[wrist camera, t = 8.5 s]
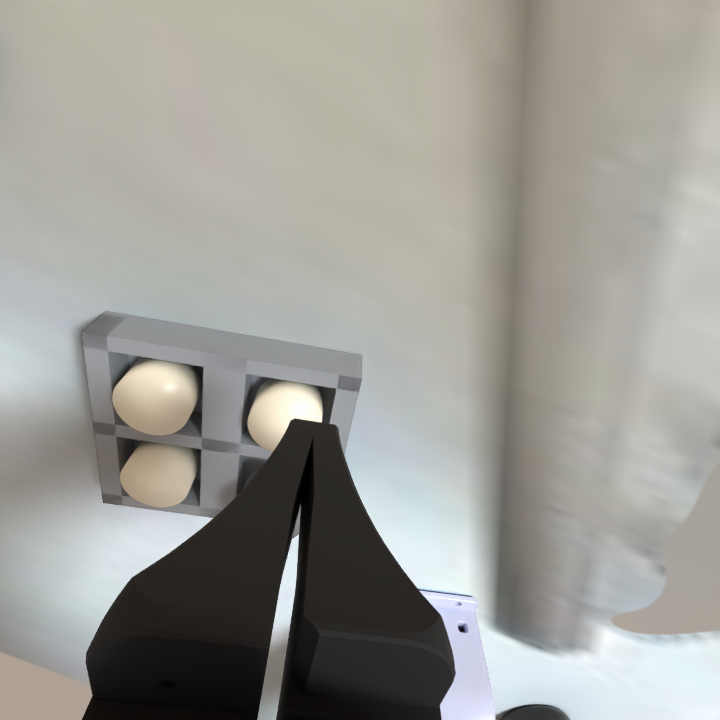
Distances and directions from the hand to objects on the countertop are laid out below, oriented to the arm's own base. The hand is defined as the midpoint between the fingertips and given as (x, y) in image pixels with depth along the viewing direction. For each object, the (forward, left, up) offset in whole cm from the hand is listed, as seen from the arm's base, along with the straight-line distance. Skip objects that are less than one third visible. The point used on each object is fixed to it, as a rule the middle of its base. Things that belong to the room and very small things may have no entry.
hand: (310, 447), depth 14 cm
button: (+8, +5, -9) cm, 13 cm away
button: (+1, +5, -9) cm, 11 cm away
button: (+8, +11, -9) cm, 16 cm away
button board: (+5, +8, -10) cm, 14 cm away
